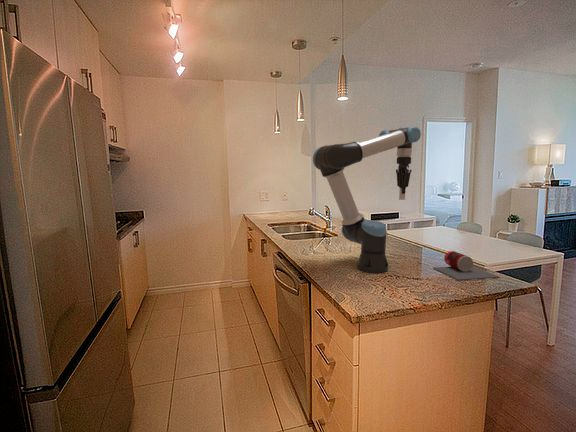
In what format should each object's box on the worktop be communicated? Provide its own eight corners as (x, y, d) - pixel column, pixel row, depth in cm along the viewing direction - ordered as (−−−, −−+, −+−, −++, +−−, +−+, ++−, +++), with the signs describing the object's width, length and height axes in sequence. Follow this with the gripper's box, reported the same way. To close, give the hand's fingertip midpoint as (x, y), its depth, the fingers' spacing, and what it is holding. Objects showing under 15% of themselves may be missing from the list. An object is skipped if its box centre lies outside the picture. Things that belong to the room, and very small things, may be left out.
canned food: (455, 266, 163) (471, 273, 152) (442, 264, 162) (456, 270, 151) (459, 252, 162) (475, 257, 152) (445, 249, 161) (460, 255, 150)
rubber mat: (457, 280, 142) (458, 279, 142) (433, 268, 159) (433, 267, 159) (499, 278, 145) (499, 276, 145) (470, 266, 163) (470, 265, 163)
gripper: (416, 156, 170) (414, 200, 173) (404, 157, 183) (402, 198, 186) (403, 156, 169) (401, 200, 172) (392, 157, 181) (390, 198, 185)
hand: (402, 199), depth 179 cm, fingers closed
